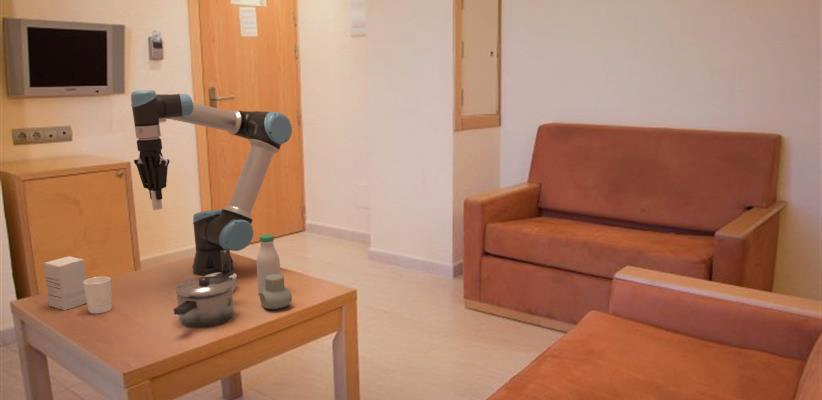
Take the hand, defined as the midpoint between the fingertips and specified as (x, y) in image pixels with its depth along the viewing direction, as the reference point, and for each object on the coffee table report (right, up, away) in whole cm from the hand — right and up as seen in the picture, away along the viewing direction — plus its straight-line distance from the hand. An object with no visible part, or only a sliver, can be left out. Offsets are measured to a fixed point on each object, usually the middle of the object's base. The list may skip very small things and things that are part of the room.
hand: (157, 209), depth 217 cm
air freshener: (+41, -31, -7) cm, 52 cm away
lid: (+22, -23, -15) cm, 36 cm away
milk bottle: (+36, -29, +6) cm, 47 cm away
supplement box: (-28, -32, -2) cm, 43 cm away
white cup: (-15, -32, -8) cm, 37 cm away
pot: (+22, -33, -17) cm, 43 cm away
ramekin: (+19, -29, +9) cm, 35 cm away
